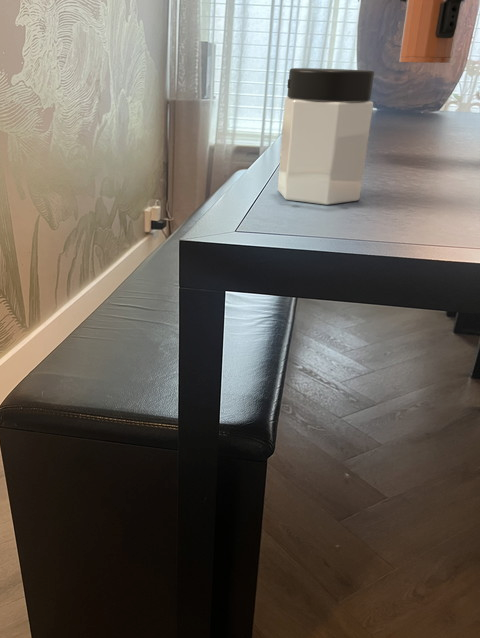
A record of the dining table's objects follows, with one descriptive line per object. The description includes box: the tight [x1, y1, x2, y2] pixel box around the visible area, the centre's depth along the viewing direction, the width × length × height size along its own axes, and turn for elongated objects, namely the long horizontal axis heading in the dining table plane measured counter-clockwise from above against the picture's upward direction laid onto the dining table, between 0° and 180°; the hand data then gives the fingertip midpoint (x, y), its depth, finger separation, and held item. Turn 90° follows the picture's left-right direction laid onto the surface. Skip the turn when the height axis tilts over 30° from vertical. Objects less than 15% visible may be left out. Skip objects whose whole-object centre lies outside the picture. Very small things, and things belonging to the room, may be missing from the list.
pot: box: [398, 0, 463, 64], centre depth 78 cm, size 6×6×7 cm
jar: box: [277, 67, 375, 206], centre depth 61 cm, size 9×8×12 cm
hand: (428, 38), depth 78 cm, fingers closed on pot, 6 cm apart
